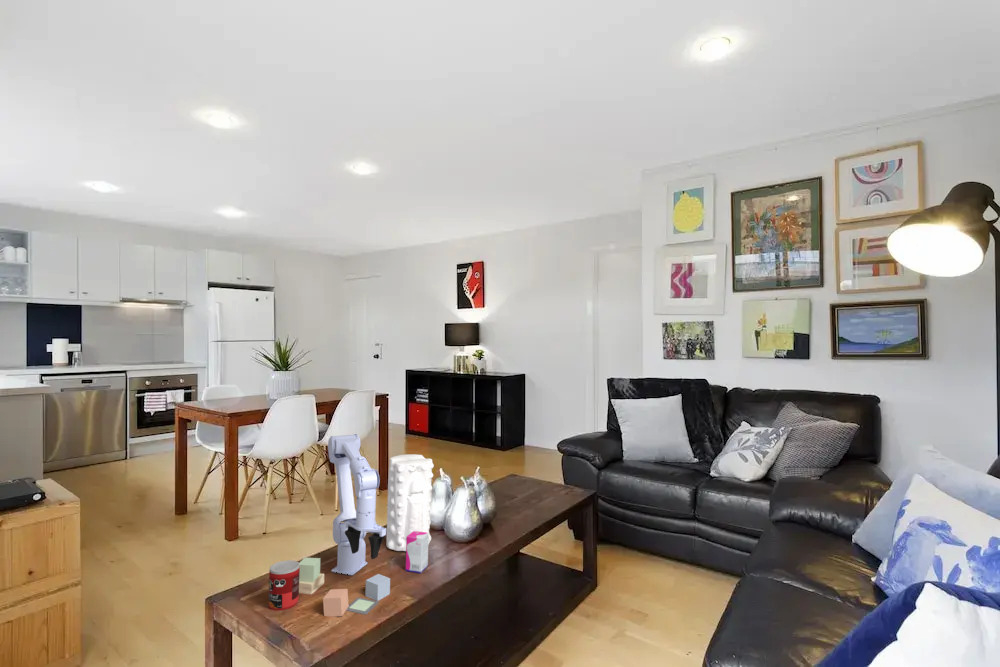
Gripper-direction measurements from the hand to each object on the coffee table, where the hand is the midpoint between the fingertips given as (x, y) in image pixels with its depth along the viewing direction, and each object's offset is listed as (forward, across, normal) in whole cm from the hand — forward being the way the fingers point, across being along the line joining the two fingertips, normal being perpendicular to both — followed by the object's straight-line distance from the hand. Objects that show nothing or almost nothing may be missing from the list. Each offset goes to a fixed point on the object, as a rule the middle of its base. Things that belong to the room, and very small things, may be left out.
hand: (364, 555), depth 154 cm
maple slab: (+11, +15, +8) cm, 20 cm away
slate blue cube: (+10, -6, +1) cm, 12 cm away
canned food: (+11, +14, +18) cm, 25 cm away
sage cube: (+7, +15, +8) cm, 18 cm away
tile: (+10, -6, +8) cm, 15 cm away
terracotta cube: (+10, -2, +14) cm, 17 cm away
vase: (+11, +9, -34) cm, 37 cm away
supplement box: (+11, -6, -19) cm, 23 cm away
